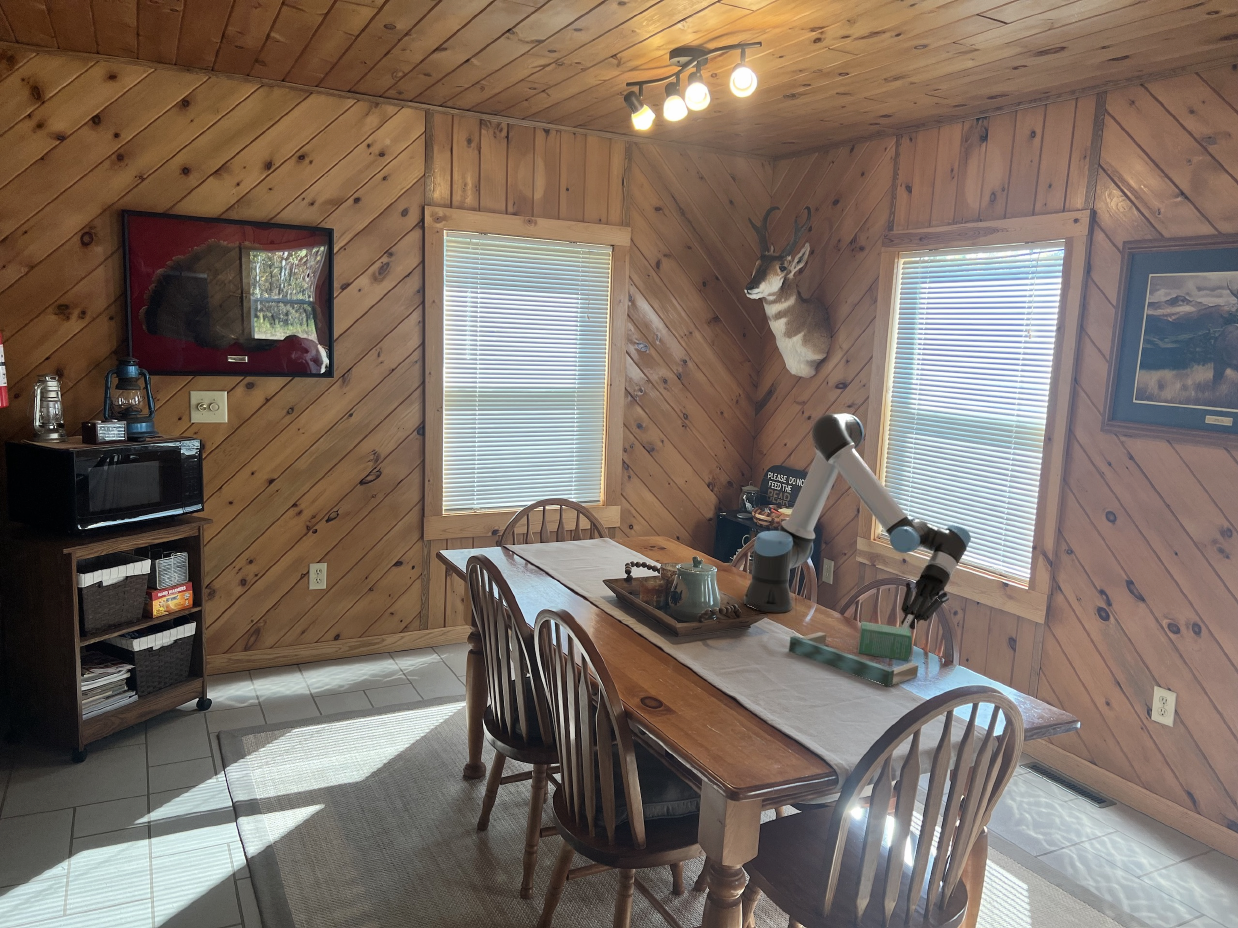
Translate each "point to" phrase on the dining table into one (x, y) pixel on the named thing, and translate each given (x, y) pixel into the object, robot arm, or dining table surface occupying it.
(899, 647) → the box
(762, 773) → the dining table surface
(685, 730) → the dining table surface
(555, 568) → the dining table surface
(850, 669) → the bay
